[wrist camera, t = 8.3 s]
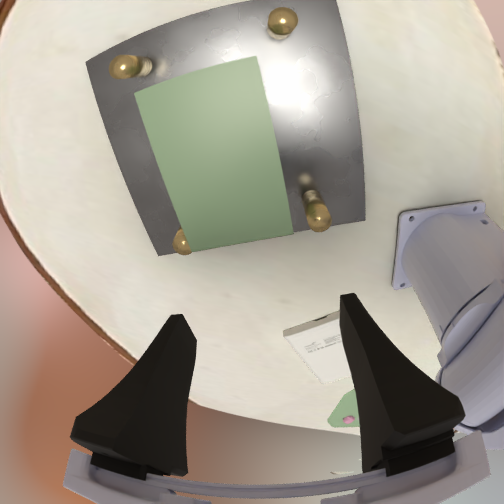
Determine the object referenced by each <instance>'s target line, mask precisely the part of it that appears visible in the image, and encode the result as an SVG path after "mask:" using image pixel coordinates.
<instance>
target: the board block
mask: <svg viewBox="0 0 504 504" xmlns="http://www.w3.org/2000/svg"><path fill="white" fill-rule="evenodd" d="M134 95H135V98H136V101H137V104H138V107H139V111H140V114H141V117H142V120H143V123H144V126H145V129H146V132H147V135H148V138H149V141H150V144H151V147H152V149H153V152H154V155H155V158H156V161H157V164H158V166H159V169H160V172H161V175H162V177H163V180H164V183H165V186H166V188H167V191H168V193H169V196H170V199H171V201H172V204H173V207H174V209H175V212H176V214H177V217H178V219H179V222H180V224H181V227H182V229H183V232H184V234H185V237H186V239H187V242H188V244H189V246H190V249H191V251H192V252H196V251H201V250H207V249H212V248H218V247H223V246H229V245H235V244H240V243H246V242H252V241H257V240H263V239H269V238H274V237H280V236H286V235H292V234H294V232H293V226H292V221H291V215H290V209H289V204H288V198H287V193H286V187H285V182H284V177H283V172H282V167H281V162H280V157H279V152H278V147H277V142H276V138H275V133H274V128H273V124H272V119H271V115H270V110H269V106H268V101H267V97H266V93H265V89H264V84H263V80H262V76H261V72H260V68H259V64H258V60H257V56H252V57H247V58H243V59H238V60H234V61H230V62H226V63H222V64H218V65H214V66H210V67H207V68H203V69H200V70H196V71H193V72H190V73H187V74H184V75H181V76H178V77H175V78H172V79H169V80H166V81H163V82H161V83H158V84H155V85H153V86H150V87H148V88H145V89H143V90H140V91H138V92H136V93H134Z"/></svg>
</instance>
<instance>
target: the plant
mask: <svg viewBox="0 0 504 504" xmlns="http://www.w3.org/2000/svg"><path fill="white" fill-rule="evenodd" d="M328 423H329V424H330V425H331V426H332V427H360V424H359V415H358V407H357V399H356V393H355V389H353V390H352V391H350V392H348V393H346V394H345V395H344V396H343V397H342V399H341V400H340V402H339V403H338V405H337V406H336V408H335V409H334V411H333V412H332V414H331V415H330V417H329V418H328Z"/></svg>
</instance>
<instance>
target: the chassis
mask: <svg viewBox="0 0 504 504" xmlns="http://www.w3.org/2000/svg"><path fill="white" fill-rule="evenodd" d="M252 56H257V60H258V64H259V68H260V72H261V76H262V80H263V84H264V89H265V93H266V97H267V101H268V106H269V110H270V115H271V119H272V124H273V128H274V133H275V138H276V142H277V147H278V152H279V157H280V162H281V167H282V172H283V177H284V182H285V187H286V193H287V198H288V204H289V209H290V215H291V221H292V226H293V232H298V231H304V230H310V229H312V230H313V231H315V232H323V231H325V230H327V229H328V228H329V227H330V226H334V225H340V224H346V223H352V222H359V221H365V182H364V164H363V150H362V139H361V129H360V120H359V112H358V104H357V97H356V90H355V84H354V78H353V72H352V66H351V61H350V56H349V51H348V46H347V42H346V37H345V33H344V29H343V25H342V21H341V17H340V13H339V9H338V6H337V2H336V0H250V1H245V2H240V3H235V4H230V5H226V6H222V7H218V8H214V9H210V10H206V11H203V12H199V13H196V14H193V15H189V16H186V17H183V18H180V19H177V20H174V21H171V22H169V23H166V24H163V25H161V26H158V27H156V28H153V29H151V30H148V31H146V32H143V33H141V34H139V35H137V36H134V37H132V38H130V39H128V40H126V41H124V42H122V43H120V44H117V45H115V46H114V47H112V48H110V49H108V50H106V51H104V52H102V53H100V54H98V55H97V56H95V57H93V58H91V59H90V60H88V61H86V66H87V70H88V74H89V77H90V81H91V84H92V88H93V91H94V94H95V98H96V101H97V104H98V107H99V111H100V114H101V117H102V120H103V123H104V126H105V129H106V132H107V134H108V137H109V140H110V143H111V146H112V148H113V151H114V154H115V156H116V159H117V162H118V164H119V167H120V170H121V172H122V175H123V177H124V180H125V182H126V185H127V187H128V189H129V192H130V194H131V197H132V199H133V201H134V204H135V206H136V208H137V211H138V213H139V215H140V218H141V220H142V222H143V224H144V226H145V229H146V231H147V233H148V235H149V237H150V240H151V242H152V244H153V246H154V248H155V250H156V252H157V254H158V256H162V255H167V254H173V253H179V254H181V255H189V254H191V253H192V251H191V249H190V246H189V244H188V242H187V239H186V237H185V234H184V232H183V229H182V227H181V224H180V222H179V219H178V217H177V214H176V212H175V209H174V207H173V204H172V201H171V199H170V196H169V193H168V191H167V188H166V186H165V183H164V180H163V177H162V175H161V172H160V169H159V166H158V164H157V161H156V158H155V155H154V152H153V149H152V147H151V144H150V141H149V138H148V135H147V132H146V129H145V126H144V123H143V120H142V117H141V114H140V111H139V107H138V104H137V101H136V98H135V95H134V93H136V92H138V91H140V90H143V89H145V88H148V87H150V86H153V85H155V84H158V83H161V82H163V81H166V80H169V79H172V78H175V77H178V76H181V75H184V74H187V73H190V72H193V71H196V70H200V69H203V68H207V67H210V66H214V65H218V64H222V63H226V62H230V61H234V60H238V59H243V58H247V57H252Z"/></svg>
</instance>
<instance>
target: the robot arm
mask: <svg viewBox="0 0 504 504" xmlns="http://www.w3.org/2000/svg"><path fill="white" fill-rule="evenodd" d="M485 207H486V205H485V203H484V202H483V201H477V202H469V203H462V204H455V205H448V206H441V207H434V208H427V209H420V210H413V211H407V212H403V213H402V214H401V215H400V217H399V226H398V239H397V249H396V258H395V266H394V274H393V281H392V287H393V289H394V290H398V289H403V288H407V287H413V289H414V291H415V292H416V294H417V296H418V298H419V300H420V302H421V304H422V306H423V308H424V310H425V312H426V314H427V316H428V318H429V320H430V322H431V324H432V326H433V329H434V331H435V333H436V335H437V337H438V340H439V342H440V344H441V346H442V348H441V351H440V352H439V353H438V355H437V357H438V360H439V362H440V365H441V369H440V370H439V372H438V374H437V376H436V379H435V381H434V380H433V379H431V378H430V377H429V376H427V375H426V374H425V373H424V372H423V371H421V370H420V369H419V368H418V367H416V366H415V365H414V364H413V363H412V362H411V361H410V360H409V359H408V358H407V357H406V356H405V355H404V354H403V353H402V352H401V351H400V350H399V349H398V348H397V347H396V346H395V345H394V344H393V343H392V342H391V341H390V339H389V338H388V337H387V336H386V335H385V334H384V333H383V331H382V330H381V329H380V328H379V326H378V325H377V324H376V323H375V321H374V320H373V319H372V317H371V316H370V315H369V313H368V312H367V310H366V309H365V308H364V306H363V305H362V303H361V302H360V300H359V299H358V297H357V295H356V294H355V293H350V294H344V295H340V318H339V326H340V332H341V338H342V343H343V347H344V351H345V354H346V358H347V362H348V365H349V369H350V372H351V376H352V380H353V384H354V388H355V393H356V399H357V407H358V415H359V424H360V435H361V450H362V471H363V473H362V474H358V475H353V476H348V477H342V478H336V479H329V480H322V481H314V482H306V483H305V482H304V483H292V484H274V485H238V484H219V483H208V482H198V481H190V480H183V479H176V478H170V477H164V476H163V475H167V476H170V475H176V476H185V475H186V474H187V473H188V468H187V456H186V417H187V403H188V397H189V392H190V386H191V381H192V376H193V371H194V366H195V360H196V347H197V339H196V338H195V336H194V334H193V332H192V331H191V329H190V327H189V325H188V323H187V321H186V320H185V318H184V316H183V314H175V315H171V316H170V317H169V318H168V320H167V321H166V323H165V324H164V325H163V327H162V328H161V330H160V331H159V333H158V334H157V336H156V337H155V339H154V340H153V342H152V343H151V344H150V346H149V347H148V349H147V350H146V351H145V353H144V354H143V355H142V357H141V358H140V359H139V361H138V362H137V363H136V365H135V366H134V367H133V368H132V369H131V371H130V372H129V373H128V374H127V375H126V376H125V377H124V378H123V379H122V380H121V381H120V383H118V384H117V385H116V386H115V387H114V388H113V389H112V390H111V391H110V392H109V393H108V394H107V395H106V396H104V397H103V398H102V399H101V400H100V401H98V402H97V403H96V404H95V405H93V406H92V407H90V408H89V409H88V410H86V411H84V412H83V413H81V414H80V415H79V416H77V417H76V419H75V422H74V426H73V428H72V432H71V435H70V438H71V439H72V440H73V441H74V442H76V443H77V444H79V445H81V446H83V447H85V448H87V449H89V450H90V451H92V452H93V454H92V456H91V455H88V454H86V453H83V452H81V451H78V450H75V449H71V453H70V457H69V460H68V465H67V469H66V473H65V478H64V482H63V486H64V487H66V488H67V489H69V490H71V491H73V492H75V493H77V494H79V495H81V496H83V497H85V498H87V499H89V500H91V501H93V502H95V503H97V504H211V501H206V500H200V499H194V498H189V497H183V496H178V495H177V494H176V493H175V492H174V491H178V492H184V493H190V494H198V495H206V496H216V497H230V498H291V497H303V496H313V495H322V494H329V493H336V492H342V491H347V490H353V489H357V490H356V491H355V493H354V494H348V495H343V496H337V497H332V498H325V499H322V500H321V504H439V503H441V502H443V501H445V500H447V499H449V498H451V497H453V496H455V495H457V494H459V493H461V492H463V491H465V490H467V489H468V488H470V487H472V486H474V485H476V484H477V483H479V482H481V481H483V480H484V479H486V478H488V477H489V476H490V475H491V473H490V468H489V463H488V459H487V454H486V449H494V450H504V231H503V230H502V229H501V228H500V227H499V226H498V225H497V224H496V223H495V222H493V221H492V220H491V219H490V218H489V217H488V216H487V215H486V214H485ZM473 208H474V209H473ZM410 216H412V218H411V219H409V218H410ZM453 428H454V429H456V430H458V431H460V432H463V433H466V434H467V436H465V437H463V438H461V439H459V440H457V441H455V442H453V439H452V437H453V436H454V431H453ZM358 488H359V489H358Z"/></svg>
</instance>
